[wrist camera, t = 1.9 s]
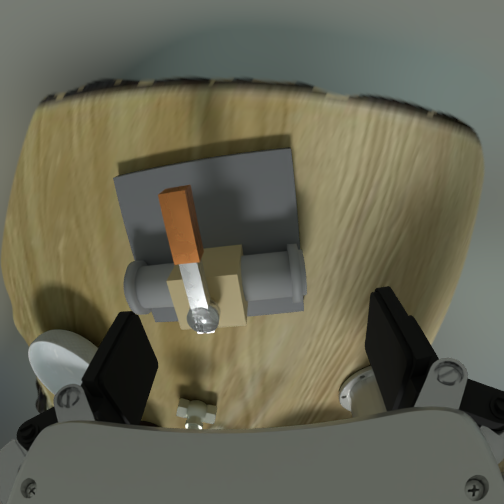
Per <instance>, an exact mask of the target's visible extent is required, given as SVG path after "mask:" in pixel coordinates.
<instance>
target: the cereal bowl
mask: <svg viewBox="0 0 504 504" xmlns="http://www.w3.org/2000/svg"><path fill="white" fill-rule="evenodd" d="M97 350H98V348H97V347H96V346H95V345H94V344H93V343H91V342H90V341H89V340H87V339H86V338H84V337H82V336H80V335H79V334H76V333H74V332H71V331H67V330H61V329H59V330H58V329H56V330H50V331H47V332H44V333H42V334H41V335H39V336H38V337H37V338H36V339H35V340H34V341H33V342H32V343H31V345H30V347H29V351H28V356H29V361H30V364H31V366H32V368H33V370H34V372H35V374H36V375H37V377H38V378H39V379H40V381H41V382H42V383H43V384H44V385H45V386H46V387H47V388H48V389H49V390H50V391H51V392H52V393H53V394H54V395H56V393H57V392H58V391H59V390H60V389H61V388H62V387H64V386H66V385H69V384H77V385H80V386H81V384H82V381H81V379H82V377H83V375H84V373H85V371H86V370H87V368H88V366H89V364H90V362H91V360H92V359H93V357H94V355H95V353H96V352H97Z"/></svg>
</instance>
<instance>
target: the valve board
mask: <svg viewBox="0 0 504 504" xmlns="http://www.w3.org/2000/svg"><path fill="white" fill-rule="evenodd" d="M113 179H114V184H115V188H116V192H117V197H118V201H119V205H120V209H121V213H122V217H123V220H124V224H125V228H126V231H127V235H128V239H129V242H130V246H131V249H132V253H133V256H134V259H135V261H133V262H131V263H130V264H129V265H128V267H127V270H126V273H125V277H124V293H125V297H126V300H127V302H128V304H129V307H130V308H131V310H132V311H133V312H134V313H135V314H138V315H139V314H149V313H150V312H151V311H152V314H153V316H154V319H155V322H170V321H179V324H180V327H181V329H192V328H191V327H190V326H189V324H188V322H187V314H188V311H189V308H190V304H189V301H188V297H187V294H186V290H185V286H184V283H183V279H182V275H181V271H180V267H179V264H177V265H174V261H173V257H172V253H171V249H170V245H169V241H168V237H167V233H166V229H165V225H164V220H163V216H162V212H161V207H160V203H159V198H158V194H159V193H161V192H162V191H163V190H164V189H167V188H173V187H179V186H185V185H191V189H192V195H193V200H194V205H195V210H196V215H197V220H198V225H199V230H200V235H201V240H202V245H203V249H204V253H203V256H202V258H201V259H202V263H203V268H204V272H205V277H206V281H207V285H208V290H209V294H210V298H211V299H212V300H214V301H215V302H216V303H217V304H218V305H219V307H220V309H221V314H220V319H219V325H218V327H231V326H244V325H246V324H247V316H258V315H269V314H279V313H289V312H298V311H304V303H303V295H306V294H307V284H306V272H305V263H304V257H303V252H302V250H301V249H300V240H299V228H298V216H297V204H296V193H295V183H294V173H293V163H292V154H291V148H290V147H289V148H279V149H270V150H261V151H253V152H245V153H237V154H230V155H223V156H217V157H210V158H204V159H198V160H192V161H186V162H181V163H175V164H170V165H165V166H160V167H155V168H150V169H145V170H141V171H136V172H131V173H127V174H123V175H119V176H116V177H114V178H113Z"/></svg>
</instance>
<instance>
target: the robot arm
mask: <svg viewBox="0 0 504 504" xmlns="http://www.w3.org/2000/svg"><path fill="white" fill-rule="evenodd" d="M365 350H366V353H367V356H368V359H369V361H370V364H371V366H369V367H366V368H364V369H362V370H360V371H358V372H356V373H355V374H353V375H352V376H351V377H349V378H348V379H347V380H346V381H345V382H344V384H343V385H342V386H341V388H340V390H339V401H340V404H341V405H342V406H343V407H344V408H345V409H347V410H349V411H351V413H352V417H353V418H348V419H342V420H336V421H329V422H322V423H314V424H305V425H296V426H285V427H272V428H255V429H179V428H162V427H150V426H139V425H140V421H141V418H142V415H143V412H144V409H145V406H146V403H147V399H148V396H149V393H150V390H151V387H152V384H153V381H154V378H155V375H156V372H157V369H158V361H157V358H156V356H155V354H154V351H153V349H152V347H151V345H150V342H149V340H148V337H147V335H146V333H145V330H144V328H143V325H142V323H141V320H140V318H139V316H138V315H137V314H136V315H135V313H134V312H133V311H126V312H120V313H119V314H118V315H117V317H116V319H115V320H114V322H113V324H112V325H111V327H110V329H109V331H108V332H107V334H106V336H105V337H104V339H103V341H102V343H101V344H100V346H99V348H98V350H97V352H96V353H95V355H94V357H93V359H92V360H91V362H90V364H89V366H88V368H87V370H86V371H85V373H84V375H83V377H82V379H81V381H82V384H81V386H80V385H77V384H69V385H66V386H64V387H62V388H61V389H60V390H59V391H58V392H57V393H56V395H55V397H54V407H52V408H51V409H49V410H47V411H45V412H43V413H41V414H39V415H37V416H35V417H33V418H31V419H30V420H28V421H26V422H24V423H23V424H22V425H21V426H20V427H19V429H18V432H17V440H16V441H15V440H14V439H12V440H11V441H10V442H9V443H8V444H7V445H6V446H4V447H3V448H2V449H1V450H0V501H1V503H2V504H504V391H501V390H498V389H495V388H493V387H490V386H487V385H484V384H481V383H479V382H476V381H473V380H470V379H468V373H467V370H466V368H465V366H464V365H463V364H462V363H461V362H459V361H457V360H455V359H451V358H442V359H438V357H437V355H436V353H435V352H434V350H433V348H432V346H431V345H430V343H429V341H428V340H427V338H426V336H425V335H424V333H423V331H422V330H421V328H420V326H419V325H418V323H417V321H416V320H415V318H414V317H413V316H411V315H410V316H408V314H407V313H406V311H405V309H404V308H403V306H402V305H401V303H400V301H399V300H398V298H397V297H396V295H395V294H394V292H393V290H392V289H391V287H389V286H387V287H381V288H376V289H375V292H372V293H371V295H370V305H369V314H368V323H367V332H366V340H365Z"/></svg>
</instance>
